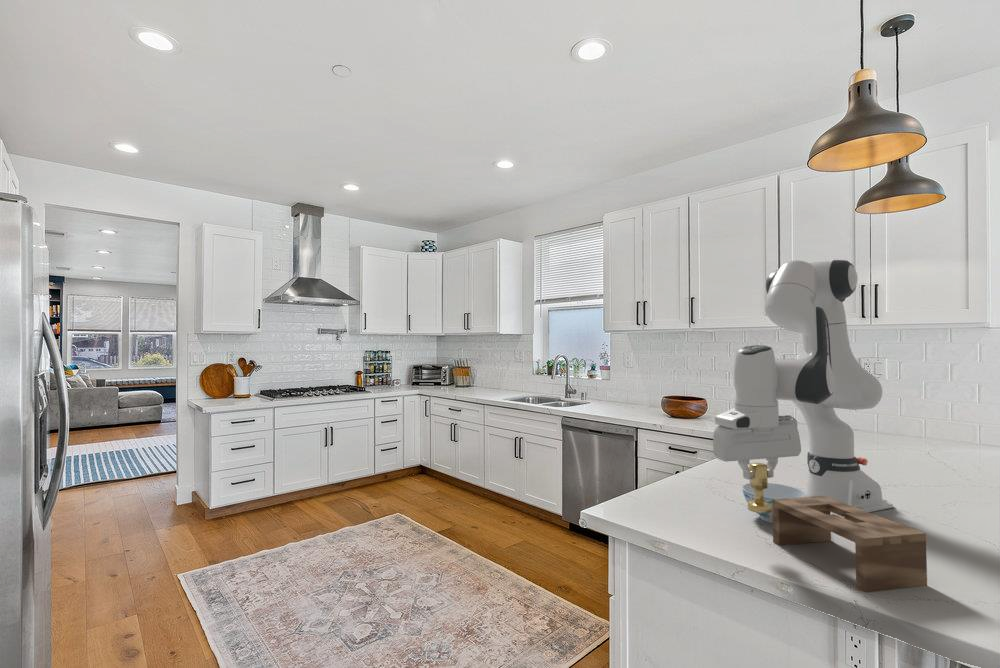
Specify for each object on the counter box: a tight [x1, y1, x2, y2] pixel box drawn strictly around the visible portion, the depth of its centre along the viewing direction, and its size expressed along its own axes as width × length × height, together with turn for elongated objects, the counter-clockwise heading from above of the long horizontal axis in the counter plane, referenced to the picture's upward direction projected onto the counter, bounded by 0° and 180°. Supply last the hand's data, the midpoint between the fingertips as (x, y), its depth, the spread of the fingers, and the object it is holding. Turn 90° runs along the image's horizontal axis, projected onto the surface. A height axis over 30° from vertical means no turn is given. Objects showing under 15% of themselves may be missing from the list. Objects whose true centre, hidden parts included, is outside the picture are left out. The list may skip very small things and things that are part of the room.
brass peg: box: [747, 462, 772, 514], centre depth 111 cm, size 5×5×10 cm
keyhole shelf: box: [772, 496, 928, 593], centre depth 105 cm, size 24×14×10 cm, turn 10°
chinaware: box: [741, 482, 806, 524], centre depth 130 cm, size 15×15×8 cm
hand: (758, 477), depth 111 cm, fingers closed on brass peg, 4 cm apart
